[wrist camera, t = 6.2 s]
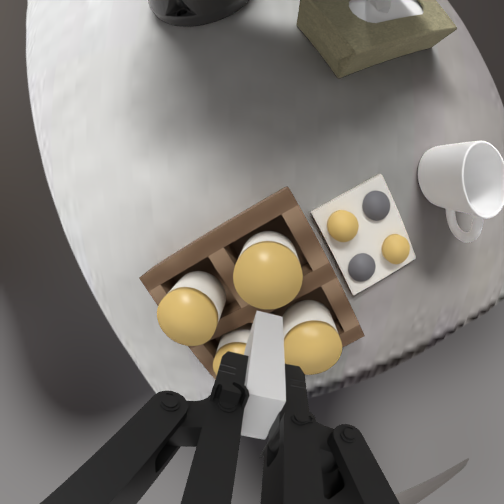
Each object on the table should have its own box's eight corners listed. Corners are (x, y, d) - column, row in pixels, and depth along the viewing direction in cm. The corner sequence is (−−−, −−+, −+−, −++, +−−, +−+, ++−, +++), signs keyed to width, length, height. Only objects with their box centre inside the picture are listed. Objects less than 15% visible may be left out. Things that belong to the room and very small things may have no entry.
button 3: (230, 248, 29) (220, 265, 24) (279, 220, 28) (281, 231, 22) (258, 293, 31) (255, 319, 25) (306, 268, 29) (314, 290, 24)
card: (310, 211, 32) (312, 214, 30) (378, 174, 30) (385, 173, 28) (351, 292, 34) (355, 299, 32) (412, 256, 32) (420, 260, 30)
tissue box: (336, 80, 28) (378, 17, 12) (293, 25, 26) (303, -52, 11) (432, 47, 24) (491, 7, 9) (394, -1, 22) (434, -54, 7)
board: (153, 266, 35) (139, 277, 31) (286, 186, 31) (288, 187, 27) (232, 374, 39) (228, 394, 35) (355, 318, 35) (364, 335, 31)
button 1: (166, 285, 31) (145, 307, 25) (207, 261, 30) (192, 280, 24) (194, 325, 32) (180, 353, 26) (236, 305, 31) (228, 332, 25)
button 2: (212, 332, 35) (202, 358, 30) (251, 314, 34) (247, 339, 29) (236, 364, 37) (230, 392, 31) (274, 348, 35) (273, 376, 30)
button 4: (271, 314, 31) (271, 343, 25) (318, 290, 30) (328, 315, 24) (295, 351, 32) (298, 382, 26) (339, 329, 31) (350, 358, 25)
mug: (461, 230, 31) (507, 248, 21) (418, 236, 32) (462, 257, 22) (456, 147, 28) (504, 143, 18) (411, 145, 29) (457, 137, 19)
